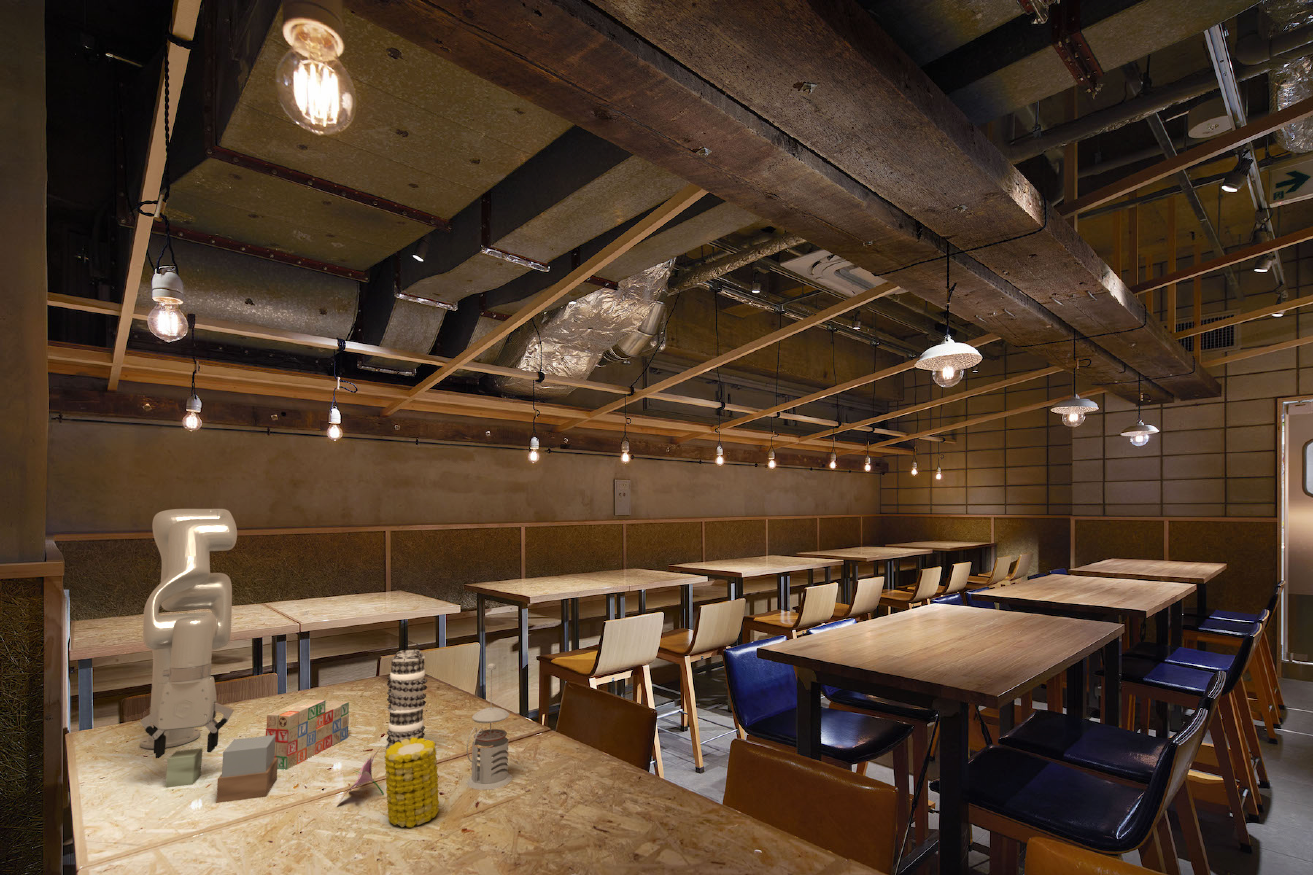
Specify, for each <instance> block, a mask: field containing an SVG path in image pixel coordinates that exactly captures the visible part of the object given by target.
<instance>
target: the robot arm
mask: <svg viewBox="0 0 1313 875" xmlns="http://www.w3.org/2000/svg"><path fill="white" fill-rule="evenodd" d="M152 533H153V534H152V536H153V538H154V541H155V545H156V547H157V549H158V552H159V554H160V559H161V572H160V573H161V574H160V583H159V584H158V585H157V586H156V587H155V588H154V589H153V591H152V592H151V593H150V594H149V597H148V598H147V600H146V602H145V604H144V605H145V606H144V609H143V622H142V624H143V625H142V639H143V644H144V645H145V647H146V648H148V649H150V650H151V652H152V653H151V654H152V675H151V676H152V680H151V691H150V692H151V693H150V694H151V695H150V709H149V714H148V715H147V716H145V717H143V718H142V719H140V723H141V725H142V726H143V728H144V730H145V732H146V733H147V734H148V735H146V736H145V737H143V738H142V739H141V740H140V743H139V746H140V747H141V748H143V749H147V750H148V749H149V750H151V749H153V754H155V759H156V760H157V759H160V758H161V757H163V755H165V754H166V748H172V747H177V746H181V745H184V744H187V743H190V742H194V741H195V740H197V739H198V738H200V736H201V733H202V732H201V729H199V728H203V727H206V728H207V730H208V731H209V733H208V734H207V745H206V747H207V748H206V752H207V753H212V752H213V751H214V750H215V749H216V747H218V744H219V731H220V730H221V728H222V727H223V726H225V724H227V723H228V722H229V720H230V718H231V716H232V715H233V713H234V708H232V707H229V706H226V705H224V704H220V703H218V702H217V691H216V690H217V689H216V683H215V682H216V681H215V678H214V676H211V675H212V674H211V672H212V658H213V657H212V656H213V655H212V654H213V650H214V649H215V650H216V649H221V648H223V647H225V646H227V645H229V644H228V643H229V642H230V640H231V636H232V635H231V634H232V616H233V614H232V612H233V611H232V610H233V609H232V607H233V604H232V603H233V587H232V581H231V578H230V576H229V575H228V574H226V573H223V572H211V563H210V560H211V559H210V554H211V553H210V552H220V551H222V552H223V551H230V550H232V549H233V548H234V547H235V545H236V543H237V539H238V530H237V524H236V522H235V519H234V517H233V515H232V513H231V511H230V510H228V509H225V508H175V509H173V508H171V509H166V510H162V511H160V512H156V514H155V515H154V517H153V520H152ZM160 607H161V608H162V609H164V610H165V611H168V612H183V611H184V612H185V611H193V610H194V611H195V610H205V609H208V610H210V611H211V612H209V611H201V612H199V611H198V612H188V613H177V614H165V615H159V613H160V612H159V611H160ZM217 712H218V713H220V714H222V715H223V716H222V717H221V719H220V720H219V721H218V720H216V716H217Z"/></svg>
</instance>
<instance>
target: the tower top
mask: <svg viewBox="0 0 1313 875" xmlns="http://www.w3.org/2000/svg"><path fill="white" fill-rule="evenodd" d="M275 737H276V735H271V736H266V735H264V736H253V737H245V738H244V737H243V738H235V739H233V740H232V741H231V742H230V743H229V745H228V746H227V747H226V748H225V749H224V750H223V752H222V764H221V766H222V767H221V774H222V777H230V776H238V775H246V774H254V773H262V772H266V771H267V769H268V768H269V766H270V765H271V763H272V761H273V760H274V757H275Z"/></svg>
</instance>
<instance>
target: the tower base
mask: <svg viewBox="0 0 1313 875" xmlns="http://www.w3.org/2000/svg"><path fill="white" fill-rule="evenodd" d="M277 765H278V757H277V758H274V760H273V761H272V763H271V765H270V766H269V768H268V769H267V771H266V772H262V773H254V774H246V775H238V776H230V777H222V773H221V774H220V775H219V777H218V778H217V783H216V784H217V786H216V802H215V803H216V804H220V803H227V802H236V801H244V800H251V799H259V798H266V797H267V796H268V794H269V792H270V791H271V790H272V788H273V786H274V785H275V783H276V782H277V780H278V769H277Z"/></svg>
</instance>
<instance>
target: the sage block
mask: <svg viewBox="0 0 1313 875" xmlns="http://www.w3.org/2000/svg"><path fill="white" fill-rule="evenodd" d="M203 749H204V748H203V747H202V748H194V749H193V748H191V749H183V750H176V751H175V752H173V754H171V755H170V756H169V757H168V758H167V763H166V764H167V766H166V767H167V768H166V780H165V788H166V789H168V788H176V787H183V786H184V787H185V786H193V785H194V784H195V783H196V782H197V780H199V779H200V777H201V776H202V764H203Z"/></svg>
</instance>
